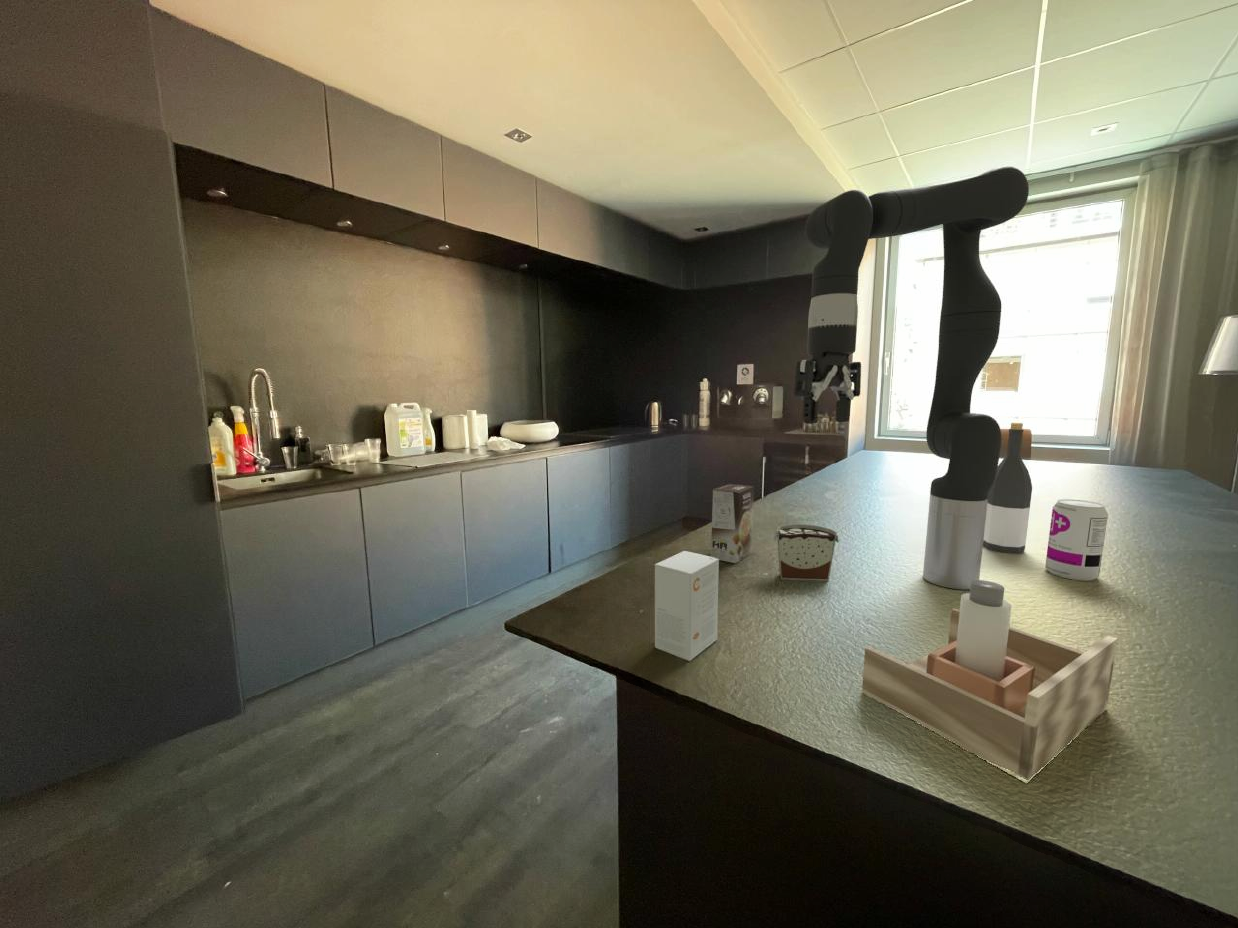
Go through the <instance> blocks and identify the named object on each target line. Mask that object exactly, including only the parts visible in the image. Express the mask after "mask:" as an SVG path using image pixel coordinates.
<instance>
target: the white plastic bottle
mask: <svg viewBox="0 0 1238 928" xmlns="http://www.w3.org/2000/svg"><path fill="white" fill-rule="evenodd" d="M1004 596H1005V587H1004V586H1003V585H1002V584H1000V583H997V582H993V581H989V580H983V579H981V580H980V579H979V580H973V581H971V586H970V589H969V592H966V593H962V594H961V596H960V607H959V610H960V614H959V624H958V634H957V644H956V654H955V664H958V665H960V666H962V667H965V668H967V669H969V670H972V671H974V672H976V673H979V674H981V675H983V676H986V677H988V678H990V679H993V680H995V681H997V682H1000V681H1001V680H1003V675H1004V666H1005V658H1006V649H1007V640H1008V631H1009V627H1010V619H1011V612H1012V604H1011V603H1010V602H1008V601H1006V600H1005V599H1004Z"/></svg>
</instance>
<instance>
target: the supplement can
mask: <svg viewBox="0 0 1238 928" xmlns="http://www.w3.org/2000/svg"><path fill="white" fill-rule="evenodd" d="M1108 517H1109V513H1108V511H1107V509H1106V506H1105V505H1104V504H1102V503H1100V502H1099V503H1098V502H1095V501H1091V500H1090V501H1089V500H1080V499H1069V498H1067V499H1066V498H1063V499H1058V500H1057V502H1056V503H1055V504H1054V505H1053V506H1052V510H1051V519H1050V524H1049V533H1048V542H1047V548H1046V549H1047V550H1046V558H1045V563H1044V568H1045V569H1047V570H1048V572H1049V573H1050V574H1052V575H1054V576H1057V577H1060V578H1064V579H1069V580H1073V581H1083V582H1084V581H1085V582H1089V581H1094V580H1096V579H1097V578H1100V573H1101V567H1102V560H1103V559H1102V558H1103V553H1104V546H1105V539H1106V531H1107V524H1108Z"/></svg>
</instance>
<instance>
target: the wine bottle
mask: <svg viewBox="0 0 1238 928" xmlns="http://www.w3.org/2000/svg"><path fill="white" fill-rule="evenodd" d="M1023 424H1024V423H1023V422H1011V423H1010V428H1009V429H1008V440H1007V450H1006V455H1005V457H1004V458H1003V459H1002V461H1001V462H1000V463H998V467H997V473H996V478H995V482H994V484H993V486H992V487H991V489H990V491H989V494H988V502H987V512H986V522H985V531H984V541H983V548H986V549H987V550H991V551H995V552H999V553H1003V554H1005V553H1006V554H1018V555H1019V554H1021V553H1024V552H1025V549H1026V541H1027V536H1028V535H1027V534H1028V529H1029V528H1028V527H1029V518H1030V510H1031V503H1032V502H1031V500H1032V493H1033V484H1032V479H1031V476H1030V474H1029V469H1028V468H1027V467H1026V464H1025V463H1024V461H1023V459H1022V457H1021V452H1022V451H1021V450H1022V442H1023V433H1024V428H1023Z"/></svg>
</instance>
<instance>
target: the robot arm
mask: <svg viewBox="0 0 1238 928" xmlns="http://www.w3.org/2000/svg"><path fill="white" fill-rule="evenodd" d="M1028 181H1029V180H1028V179H1027V177H1026V175H1025V173H1024V172H1023V171H1022V170H1020V169H1019V168H1017V167H1014V166H1010V165H1009V166H1008V165H1006V166H1005V165H1004V166H999V167H995V168H992V169H989V170H987V171H985V172H983V173H981V174H979V175H976V176H972V177H968V178H964V179H960V180H956V181H950V182H945V183H939V184H933V185H932V184H931V185H925V186H918V187H909V188H901V189H894V190H885V191H881V192H877V193H873V194H871V195H867V194H866V193H864V192H863V191H861V190H859V189H850V190H847V191H844V192H842V193H840V194H839V195H837V196H834V197H833V198H832V199H830V200H827V201H825V202H824V203H822V204H821V205H818V206H817V207H816V208H814V210H813V211H812V212H811V213H810V214H809V216H808V218H807V220H806V223H805V227H804V229H805V230H804V231H805V236H806V238H807V240H808V242H809V243H810V244H811V245H813V246H814V247H816V248H819V249H822V250H827V252H826V254H825V255H824V257H823V258H822V259H821V260H820V261H818V262H817V263H816V264H815V266H814V267H813V269H812V276H811V277H812V278H811V294H810V295H811V296H810V297H811V299H810V305H809V310H808V323H807V324H808V325H807V326H808V327H807V345H806V353H807V355H808V356H811V358H810V359H799V360H798V361H797V362H796V369H795V381H794V393H793V395H794V396H795V397H796V398H797V397H798V398H800V399H801V400H802V401H803V408H802V411H803V412H802V418H803V419H802V420H803V423H804V424H811V425H813V424H814V425H815V424H817V423H818V413H819V398H820V396H821V394H822V393H823V391H826V390H827V388H830V389H831V391H833V392H834V394H835V396H836V399H837V400H836V407H835V421H836V422H837V423H848V422H849V421H850V416H851V403H852V402H851V401H853V400H854V398H855V397H860V395H861V389H862V387H861V382H862V380H861V379H862V362H860V361H850V360H849V359H850V358H849V356H850V355H852V354H854V353H855V352H856V350H857V349H856V347H857V331H858V319H859V318H858V316H859V315H858V314H859V308H858V307H859V305H858V288H859V271H860V266H861V265H862V262H863V258H864V255H865V253H866V250H867V249H866V248H867V245H868V242H869V240H872V239H882V238H883V239H884V238H889V237H895V236H896V237H897V236H903V235H907V234H911V233H916V232H921V231H923V230H927V229H930V228H931V229H932V228H933V227H938V226H941V225H942V237H943V240H942V241H943V245H942V246H943V281H942V282H943V283H942V284H943V285H942V299H941V309H940V316H939V317H940V318H939V331H938V351H937V361H936V369H935V370H936V371H935V381H934V389H933V394H932V398H931V399H932V400H931V406H930V411H929V415H928V421H927V425H926V426H927V427H926V436H925V437H926V443H927V447H928V448H929V450H930V452H932V455H933V454H934V456H937V457H939V458H941V459H944V460H945V459H946V460H949V461H948V465H947V466H948V468H947V472H946V473H945V474H943V476H940V477H937V478H934V479H932V481H931V483H930V492H929V494H930V495H929V502H928V513H927V514H928V516H927V525H926V526H927V528H926V536H925V537H926V538H925V547H924V548H925V549H924V558H923V559H924V560H923V568H922V569H923V570H922V577H923V579H924V580H926V581H927V582H929V583H932V584H934V585H937V586H939V587H944V588H949V589H954V590H963V591H964V590H965V591H966V590H967V591H968V590H970V586H971V581H973V580H980V577H981V576H980V575H981V569H982V568H981V567H982V559H983V549H984V546H983V541H984V531H985V522H986V512H987V502H988V494H989V491H990V489H991V487H992V486H993V484H994V482H995V478H996V473H997V467H998V465H999V461H1000V460H999V459H1000V455H1001V448H1002V440H1003V439H1002V438H1003V437H1002V431H1001V427H1000V425H999V423H998V422H997V420H996V419H995V418H994V417H992V416H990V415H987V414H984V413H976V412H975V413H974V412H973V413H972V412H971V403H972V394H973V390H974V386H975V383H976V381H977V379H978V377H979V375H980V374H981V371H982V370H983V369H984V367H985V365H986V364H987V362H988V360H990V357H991V355H992V354H993V352H994V350H995V347H996V346H997V343H998V340H999V335H1000V329H1001V327H1000V326H1001V317H1002V301H1001V297H1000V295H999V292H998V291H997V289H996V287H995V286H994V284H993V282H992V281H991V279H990V278H989V276H988V275H987V273H986V272H985V269H984V268H983V265H982V262H981V257H980V239H981V232H982V231H984V230H987V229H990V228H993V227H997V226H999V225H1001V224H1004V223H1006V222H1009V221H1010V220H1012V219H1014V218H1015V217H1016V216H1018V215H1019V213H1020V212H1022V210H1023V209H1024V208H1025V206H1026V204H1027V202H1028V199H1029V193H1030V187H1029V182H1028ZM803 383H804V389H803ZM852 387H853V389H852Z"/></svg>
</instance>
